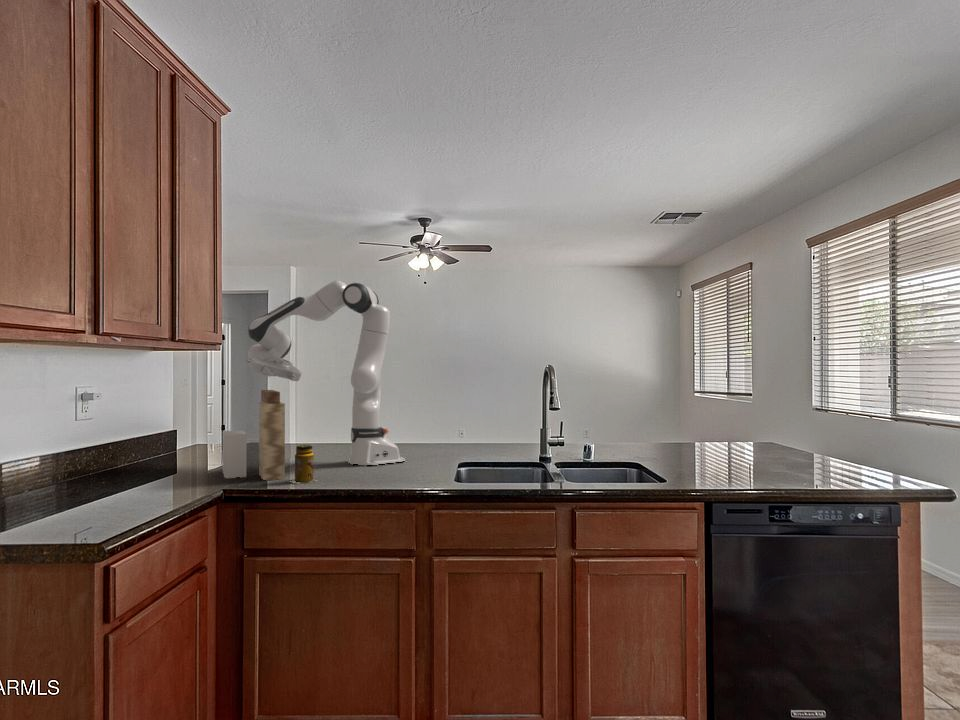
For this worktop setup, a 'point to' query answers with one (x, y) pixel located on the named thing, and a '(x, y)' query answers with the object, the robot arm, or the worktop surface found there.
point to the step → (234, 454)
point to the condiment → (304, 464)
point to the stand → (271, 441)
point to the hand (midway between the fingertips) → (282, 376)
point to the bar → (270, 396)
